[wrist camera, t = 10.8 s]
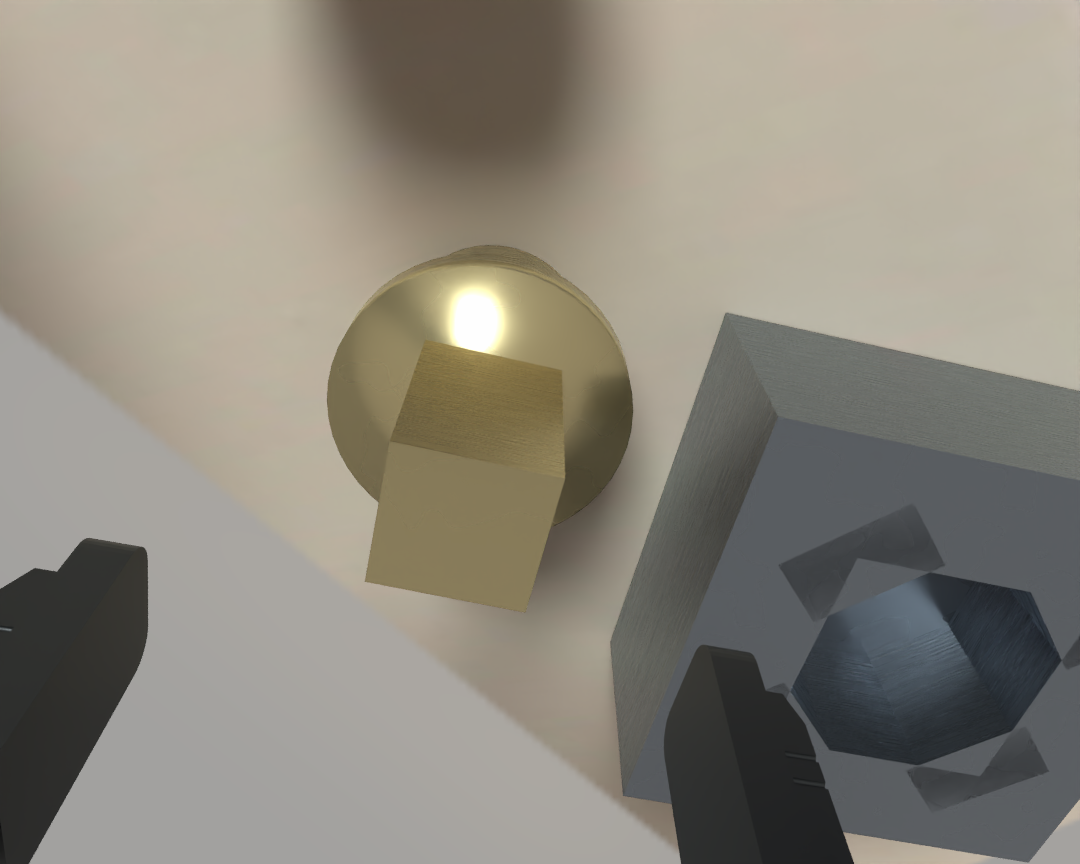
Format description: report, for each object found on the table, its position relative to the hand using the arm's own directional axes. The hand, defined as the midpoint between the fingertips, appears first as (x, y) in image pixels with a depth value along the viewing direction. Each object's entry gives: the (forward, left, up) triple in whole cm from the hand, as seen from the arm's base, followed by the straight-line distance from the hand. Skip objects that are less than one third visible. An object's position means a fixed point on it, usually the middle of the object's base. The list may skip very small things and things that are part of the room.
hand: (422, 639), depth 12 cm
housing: (+12, -4, -12) cm, 18 cm away
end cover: (0, 0, -12) cm, 12 cm away
